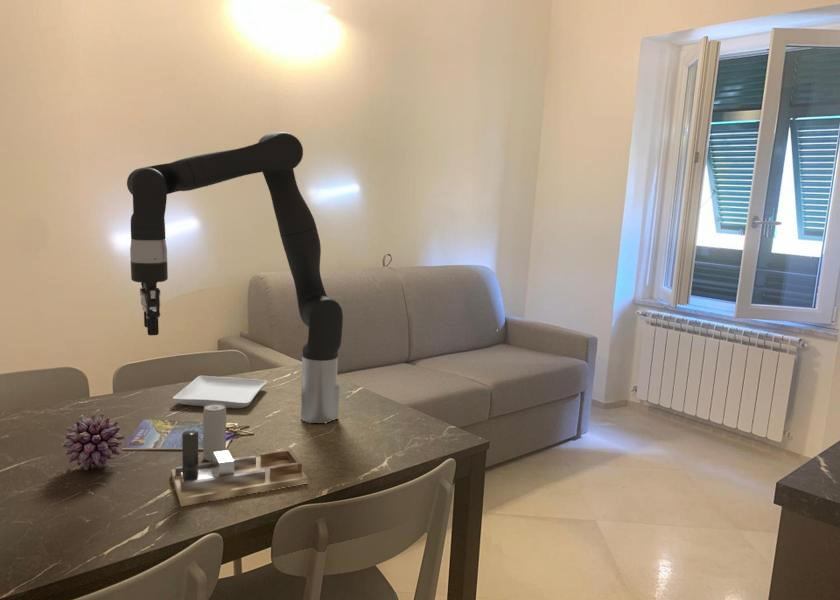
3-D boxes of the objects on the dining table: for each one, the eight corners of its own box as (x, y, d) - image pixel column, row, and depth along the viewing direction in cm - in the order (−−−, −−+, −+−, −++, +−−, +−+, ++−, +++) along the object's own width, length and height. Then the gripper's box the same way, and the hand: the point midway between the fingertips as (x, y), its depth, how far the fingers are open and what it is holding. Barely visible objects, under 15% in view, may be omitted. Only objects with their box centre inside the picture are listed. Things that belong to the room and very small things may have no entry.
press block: (227, 467, 135) (228, 423, 133) (234, 479, 130) (234, 433, 128) (180, 474, 130) (180, 429, 129) (184, 487, 125) (184, 440, 123)
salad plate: (249, 413, 173) (249, 401, 172) (170, 409, 173) (170, 397, 173) (268, 390, 194) (268, 379, 193) (198, 386, 194) (198, 375, 194)
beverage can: (219, 463, 141) (219, 411, 139) (199, 460, 141) (199, 409, 139) (229, 455, 145) (230, 404, 143) (210, 452, 146) (210, 402, 144)
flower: (48, 472, 132) (46, 417, 130) (96, 452, 143) (95, 401, 141) (91, 484, 128) (89, 428, 126) (137, 462, 139) (136, 410, 137)
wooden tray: (287, 458, 145) (288, 443, 145) (307, 484, 133) (308, 468, 133) (170, 476, 133) (170, 460, 133) (181, 506, 121) (180, 489, 121)
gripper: (171, 263, 137) (172, 336, 140) (163, 255, 150) (165, 323, 152) (132, 263, 134) (135, 339, 137) (128, 256, 146) (131, 325, 149)
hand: (151, 330), depth 144 cm, fingers open, 8 cm apart
